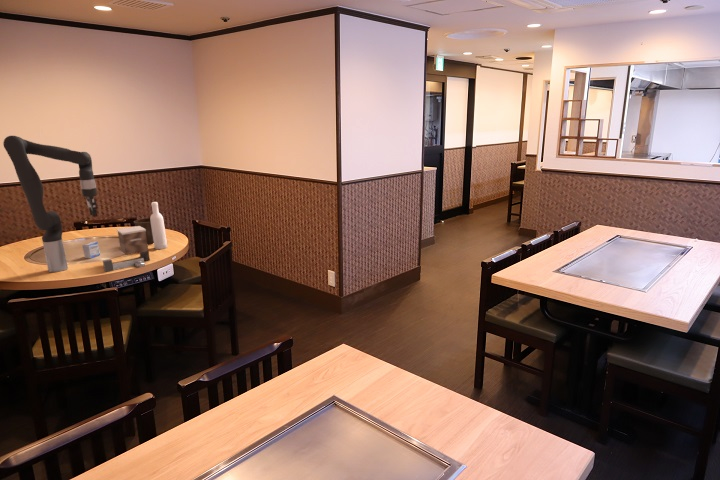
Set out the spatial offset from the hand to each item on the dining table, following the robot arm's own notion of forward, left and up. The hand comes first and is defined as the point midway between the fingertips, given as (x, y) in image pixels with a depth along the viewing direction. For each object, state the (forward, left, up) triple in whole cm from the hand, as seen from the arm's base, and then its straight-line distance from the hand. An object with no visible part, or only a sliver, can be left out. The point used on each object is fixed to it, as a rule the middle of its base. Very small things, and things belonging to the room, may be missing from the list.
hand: (93, 215), depth 270 cm
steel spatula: (+7, -22, -28) cm, 36 cm away
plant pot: (+34, +27, -28) cm, 52 cm away
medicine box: (-2, +18, -28) cm, 34 cm away
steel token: (+15, -25, -28) cm, 41 cm away
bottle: (+36, +8, -28) cm, 46 cm away
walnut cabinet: (+16, -12, -28) cm, 34 cm away
